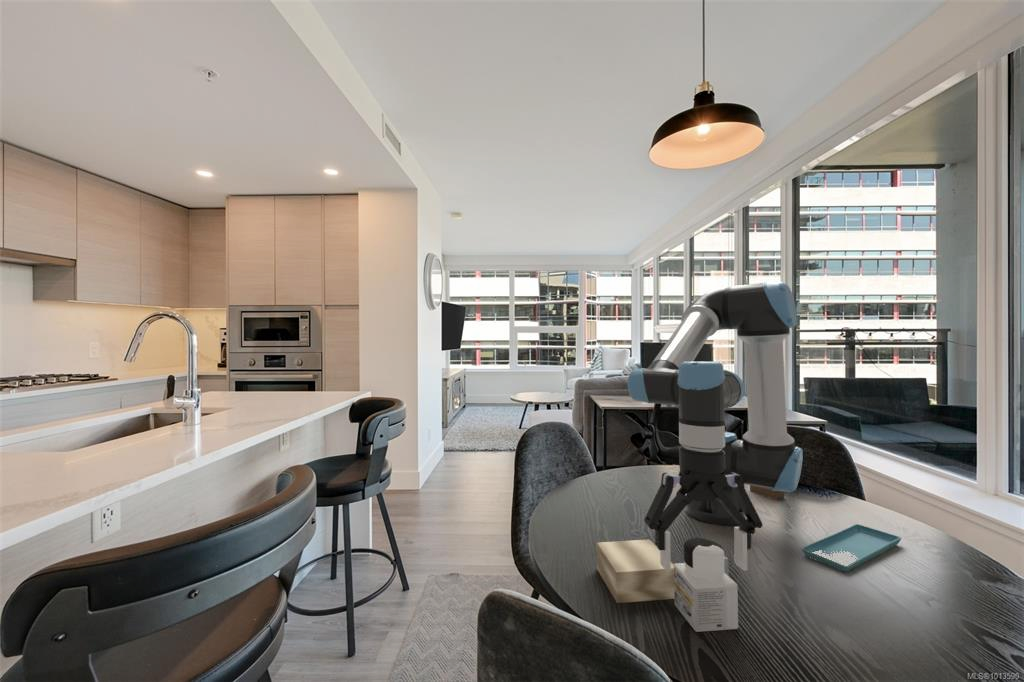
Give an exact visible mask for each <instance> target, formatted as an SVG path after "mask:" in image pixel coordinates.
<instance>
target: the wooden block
mask: <svg viewBox="0 0 1024 682" xmlns="http://www.w3.org/2000/svg"><path fill="white" fill-rule="evenodd" d="M749 491H750V492H753V493H755V494H758V495H761V496H764V497H767V498H769V499H772V500H774V499H775V500H779V499H784V498H785V492H784V491H777V490H776V491H773V490H771V489H766V488H761V487H756V486H752V485H749Z"/></svg>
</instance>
